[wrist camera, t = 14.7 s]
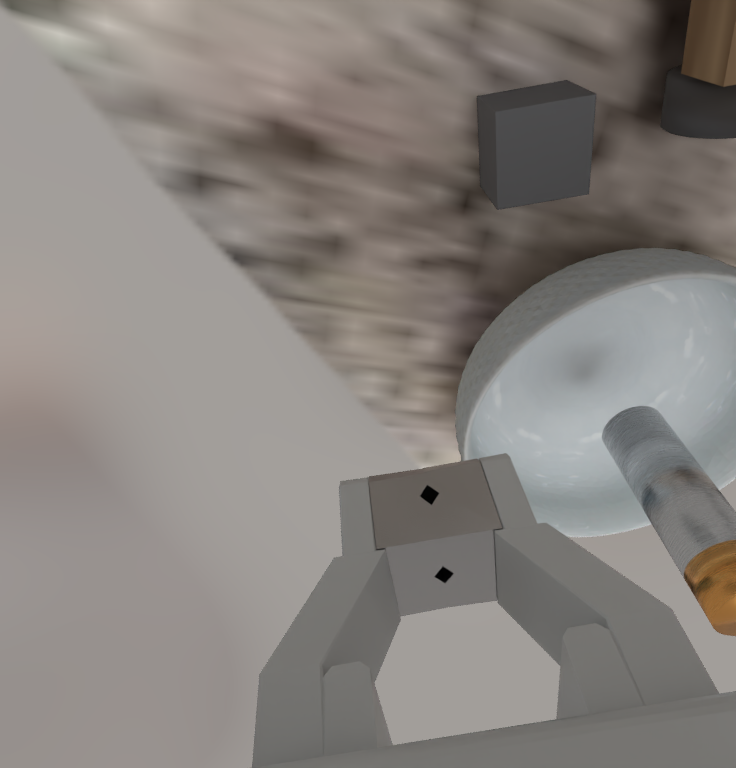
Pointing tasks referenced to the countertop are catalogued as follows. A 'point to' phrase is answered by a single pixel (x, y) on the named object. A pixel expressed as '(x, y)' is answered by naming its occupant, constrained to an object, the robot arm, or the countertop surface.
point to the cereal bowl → (604, 379)
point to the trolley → (704, 75)
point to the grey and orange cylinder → (680, 507)
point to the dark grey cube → (535, 143)
